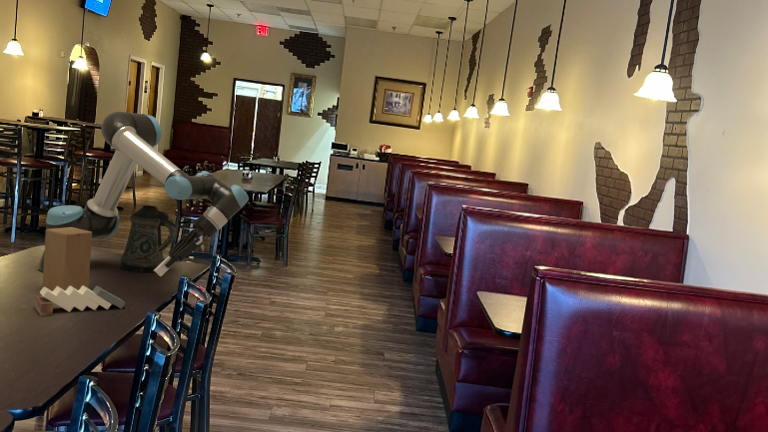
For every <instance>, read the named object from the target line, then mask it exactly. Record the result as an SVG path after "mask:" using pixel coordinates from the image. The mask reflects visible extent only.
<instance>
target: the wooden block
mask: <svg viewBox="0 0 768 432" xmlns="http://www.w3.org/2000/svg"><path fill="white" fill-rule="evenodd" d="M92 240H93V239H92V232H91V231H86V230H82V229H78V228H73V227H66V228H54V229H46V228H45V237H44V250H45V254H44V270H43V272H42V273H43V274H42V289H43V287H46V288H48V289H49V290H51V291H53V290H54V289H55V288H56V287H57V286H58V287H60V288H61V289H63V290H65V291H66V290H67V288H68V287H69V286H72V287H73V288H75V289H77V290H78V291H79V289H80V288H81V287H82V285H83V286H85V287H87V288H88V289H89V288H90V287H89V285H90V271H91V270H90V269H91V257H92V255H91V253H92V244H93V243H92Z"/></svg>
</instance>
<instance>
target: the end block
mask: <svg viewBox="0 0 768 432" xmlns="http://www.w3.org/2000/svg"><path fill="white" fill-rule="evenodd" d="M34 308H35V310H36V311H37V313H38V314H39V315H40V317H44V316H46V317H47V316H53V312H54V311H53V309H54V303H53V302H52V301H50V300H48V299H46V298H45V297H43V296H42V295H35V298H34Z"/></svg>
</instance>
